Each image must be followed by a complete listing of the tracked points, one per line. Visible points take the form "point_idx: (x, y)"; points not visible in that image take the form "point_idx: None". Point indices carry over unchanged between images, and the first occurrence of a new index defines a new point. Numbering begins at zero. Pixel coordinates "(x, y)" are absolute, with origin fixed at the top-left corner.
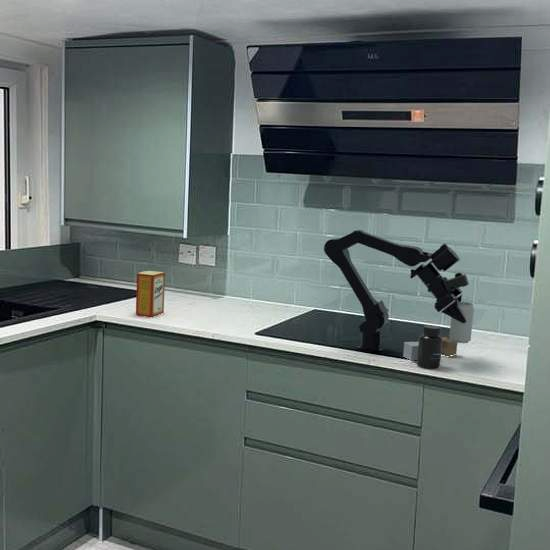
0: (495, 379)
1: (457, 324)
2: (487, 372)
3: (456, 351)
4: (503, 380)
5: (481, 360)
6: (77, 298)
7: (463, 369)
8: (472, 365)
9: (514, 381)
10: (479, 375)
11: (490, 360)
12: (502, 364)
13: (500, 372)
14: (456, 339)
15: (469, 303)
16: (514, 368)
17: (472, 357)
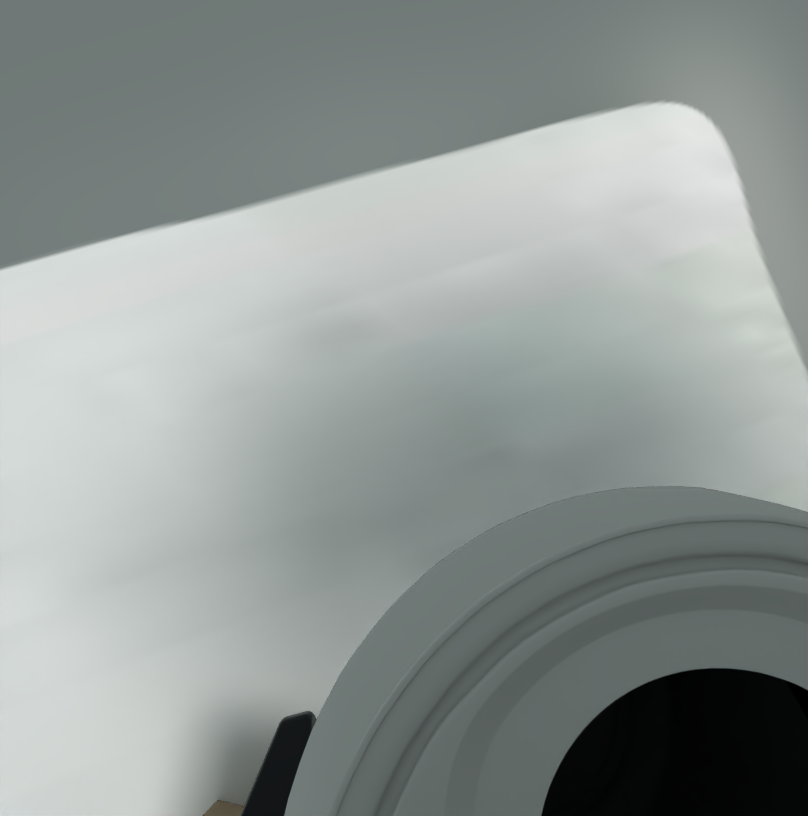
0: (751, 232)
1: (794, 766)
2: (603, 344)
3: (206, 814)
4: (725, 184)
5: (234, 526)
6: None
7: None
8: (481, 520)
9: (681, 123)
10: (750, 358)
11: (174, 465)
12: (241, 342)
13: (515, 271)
14: (675, 705)
15: (469, 769)
16: (301, 234)
17: (180, 635)
